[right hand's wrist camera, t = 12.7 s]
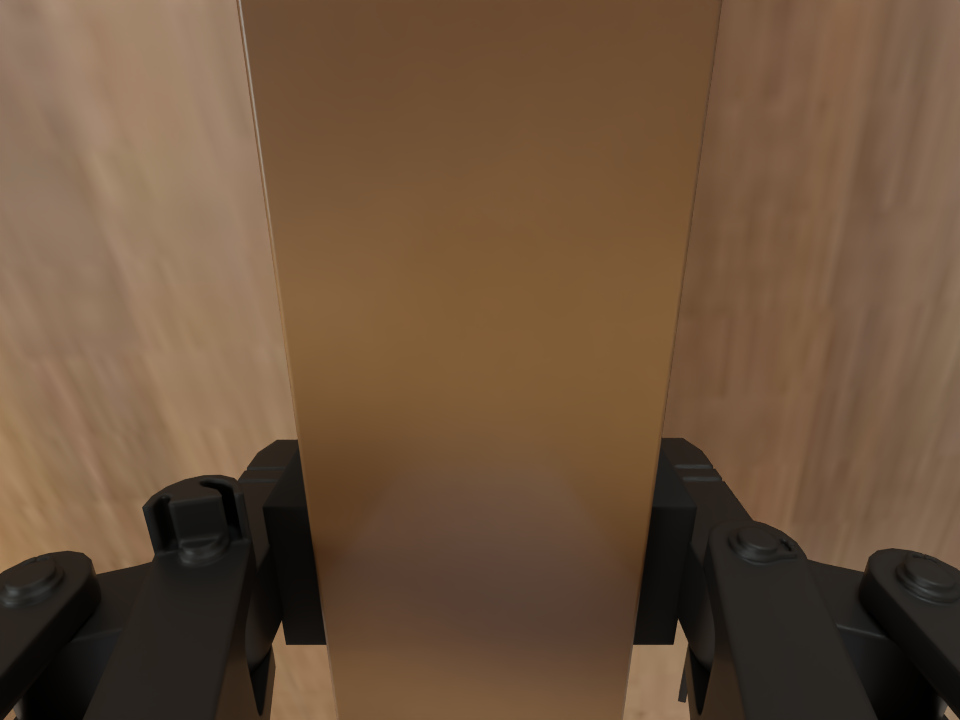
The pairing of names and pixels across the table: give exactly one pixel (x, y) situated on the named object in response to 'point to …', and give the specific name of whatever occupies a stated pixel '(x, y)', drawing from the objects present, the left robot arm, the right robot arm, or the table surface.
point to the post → (479, 328)
